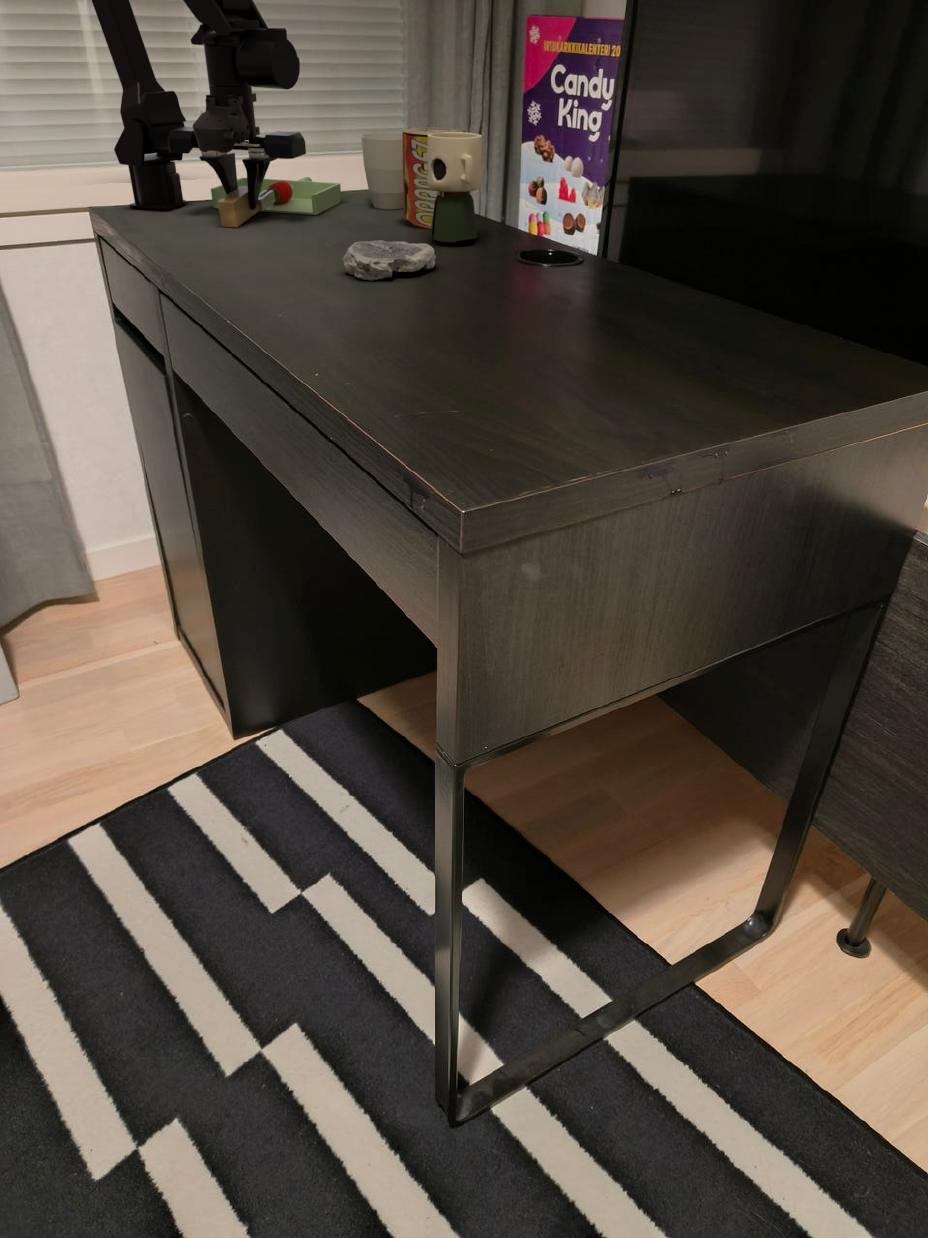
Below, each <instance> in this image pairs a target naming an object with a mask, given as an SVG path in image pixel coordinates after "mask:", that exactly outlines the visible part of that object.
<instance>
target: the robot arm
mask: <svg viewBox="0 0 928 1238" xmlns="http://www.w3.org/2000/svg"><path fill="white" fill-rule="evenodd" d="M182 1H183V3H184V4H185V6H187V8H188V9H189V12H191V14H192V15H193V16H194V18H195V19H196V20H197V22H199V23H200V24H199V27H198V29H197V30H196V32H194V34H193V35H192V37H191V38H190V43H191V44H192V46H203V51H204V60H205V67H206V74H207V83H208V92H209V93H208V94H205V111H204V112H202V113H201V114H200V115H199V116H198V118H197V119H196V120H195V121H194V122H193V124H192V126H185V122H187V119H186V117H185V116H184V114H183V112H182V109H181V106H180V102H179V97H178V95H177V93H176V92H175V91H174V90H167V91H166V90H165V89H164V88H163V86H162V85H161V84H160V83H159V82H158V80H157V79H156V75H155V72H154V69H153V67H152V64H151V61H150V58H149V55H148V51H147V49H146V46H145V43H144V40H143V37H142V34H141V31H140V27H139V25H138V22H137V19H136V16H135V13H134V10H133V7H132V4H131V2H130V0H91V3H92V5H93V8H94V11H95V15H96V17H97V20H98V22H99V25H100V28H101V31H102V34H103V37H104V39H105V42H106V45H107V49H108V51H109V54H110V56H111V59H112V62H113V65H114V67H115V70H116V73H117V76H118V79H119V82H120V84H121V88H122V94H121V101H120V108H119V109H120V111H119V113H120V117H121V120H122V126H123V130H122V132H121V134H120V135H119V138H118V140H117V142H116V144H115V145H114V146H115V147H114V148H113V151H114V153H115V156H116V159H117V160H118V163H119V164H120V165H123V166H124V165H125V166H128V172H129V177H130V183H131V189H132V195H133V200H134V202H132V203H130V204H129V208H130V209H143V210H145V209H146V210H157V211H170V210H171V209H175V208H177V207H180V206H183V205H185V204H187V200H186V199H184V196H183V189H182V183H181V175H180V173H179V172H177V165H176V161H182V160H183V157H184V154H190V153H191V152H192V151H193V149H198V150H199V151H200V152H201V155H200V156H198V158H199V160H200V161H201V162H206V163H207V164H208V165H209V166H210V167H211V168H212V170H214V172H215V174H216V176H217V177H218V180H219V181H220V183H221V185H223V188H224V190H225V192H226V194H227V195H228V194H229V193H231V192H232V191H234V190H235V189H237V188H238V185H237V179H238V175H237V164H236V153H235V152H231V151H247V153H248V157H246V158H243V159H242V160H241V161H242V164H243V166H244V168H245V171H246V178H247V185H248V199H249V205H250V209H251V210H254V209H255V208H256V205H257V202H258V198H259V194H260V191H261V187H262V183H263V180H264V179H265V177H266V174H267V172H268V169H269V167H270V164H271V162H273V161H276V160H277V159H278V160H280V159H281V160H293V159H296V158H299V157H302V156H304V155H306V154H307V147H306V140H305V138H304V136H303V135H302V133H301V131H280V130H277V131H274V132H270V133H266V134H265V135H264V136H259V135H261V131H260V126H258V125H256V118H255V117H256V116H255V106H254V103H256V102H257V101H258V100H257V93H256V92H253V89H252V88H259V89H260V88H261V89H275V90H290V89H293V88H294V87H295V86H296V84H297V82H298V81H299V77H300V72H301V62H300V57H299V56H298V53H297V50H296V48H295V46H294V44H293V43H292V42H291V41H290V40H289V39H288V33H287V31H288V30H287V28H285V27H268V25H267V23H266V21H265V20H264V18H263V16H262V14H261V13H260V11H259V9H258V7H257V5H256V4H255V2H254V0H182Z"/></svg>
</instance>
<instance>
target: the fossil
mask: <svg viewBox="0 0 928 1238" xmlns="http://www.w3.org/2000/svg"><path fill="white" fill-rule="evenodd" d="M436 259H437V256H436V254H435V249H434V248H433V247H432V246H431V245H430V244H429V243H414V242H413V243H409V242H407V241H404V240H403V241H386V240H382V239H381V240H371V241H370V240H369V241H367V240H366V241H365V240H364V241H356V242H354V243H353V244H351V245H350V246H349V247H348V248H347V251H346V253H345V254H344V256H343V257H342V263H343V266H344V271H345V272H346V273H348V274H349V275H352V276H354V277H355V278H358V279H361V280H363V281H364V280H365V281H371V282H372V281H377V280H383V279H385V278H392V276H393V272H398V273H401V272H404V273H405V272H411V273H412V272H413V273H414V272H417V271H419V270H421V269H425V270H429V269H433V268H435V265H436V261H435V260H436Z"/></svg>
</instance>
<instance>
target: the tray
mask: <svg viewBox="0 0 928 1238" xmlns="http://www.w3.org/2000/svg"><path fill="white" fill-rule="evenodd" d="M279 181H285V182H287V183H289V184H290V186H291V187H292V191H293V193H292V197H291V198H290V199H289V200H288V201H286V202H284V203H282V204H274V203H273V204H271V205H270V206H269V207H267V208H266V209H265V210H263V211H261V212H263V213H276V214H277V213H279V214H295V215H305V216H317V215H319V214H321V213H323V212H325V211H327V210H329V209H331V208H333V207H335V206H337V205H339V204H341V201H342V189H341V188H342V187H341V183H340V182H326V181H325V182H324V181H313V180H312V178H311V177H310V176H305V177H302V178H299V179H298V180H295V179H294V180H291V179H274V178H264V180H263V183H262V187H261V190H262V191H263V190H268V188H269V186H270V185H272V184H274V183H276V182H279ZM237 185H238V187H240V186H248V185H247V177H245V176H243V177H240V178H237ZM210 192H211V200H212V201H211V202H212V209H217V210H219V207H218V201H219V200H221V199H222V198H224V197H225V196H226V195H227V194H226V192H225V190H224V188H223V185H222V184H220V185H217V186H215V187H212V188H210Z"/></svg>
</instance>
